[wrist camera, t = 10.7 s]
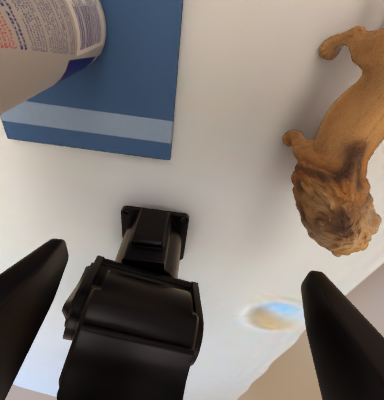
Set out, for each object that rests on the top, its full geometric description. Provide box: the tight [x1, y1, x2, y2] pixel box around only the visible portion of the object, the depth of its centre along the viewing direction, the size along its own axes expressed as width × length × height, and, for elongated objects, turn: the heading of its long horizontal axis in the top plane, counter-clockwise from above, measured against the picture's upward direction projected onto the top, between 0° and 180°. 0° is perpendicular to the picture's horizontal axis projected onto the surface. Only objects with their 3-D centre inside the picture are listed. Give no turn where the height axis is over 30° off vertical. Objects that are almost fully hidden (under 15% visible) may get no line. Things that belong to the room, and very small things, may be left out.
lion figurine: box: [283, 26, 384, 257], centre depth 14 cm, size 15×5×9 cm, turn 176°
